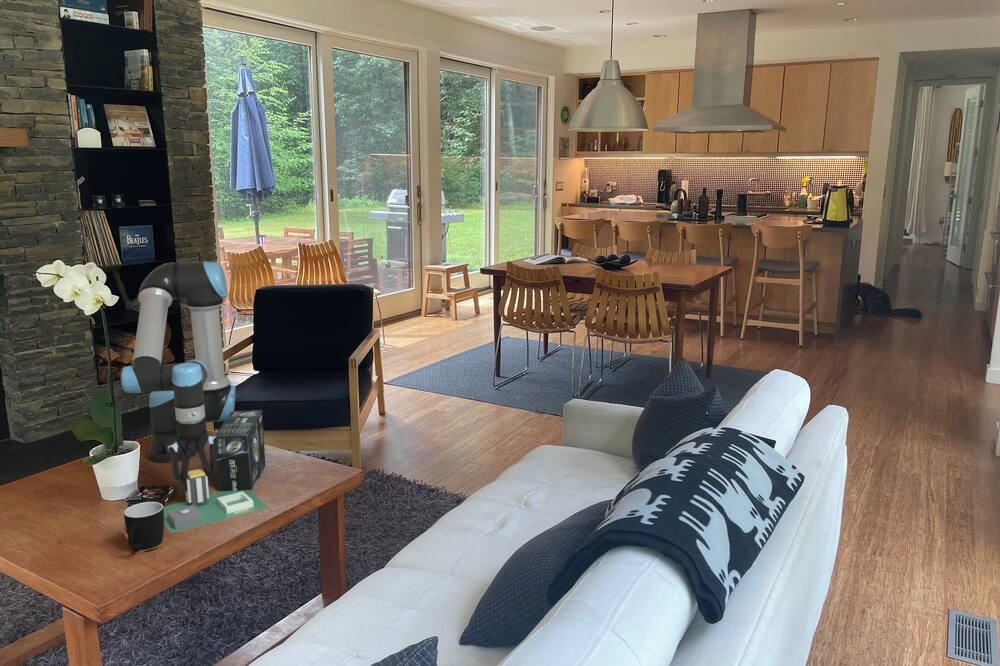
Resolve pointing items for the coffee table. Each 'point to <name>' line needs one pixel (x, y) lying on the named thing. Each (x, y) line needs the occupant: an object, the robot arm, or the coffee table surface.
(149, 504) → the mug
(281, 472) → the coffee table surface
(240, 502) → the board
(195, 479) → the plug
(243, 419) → the box
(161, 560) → the coffee table surface
